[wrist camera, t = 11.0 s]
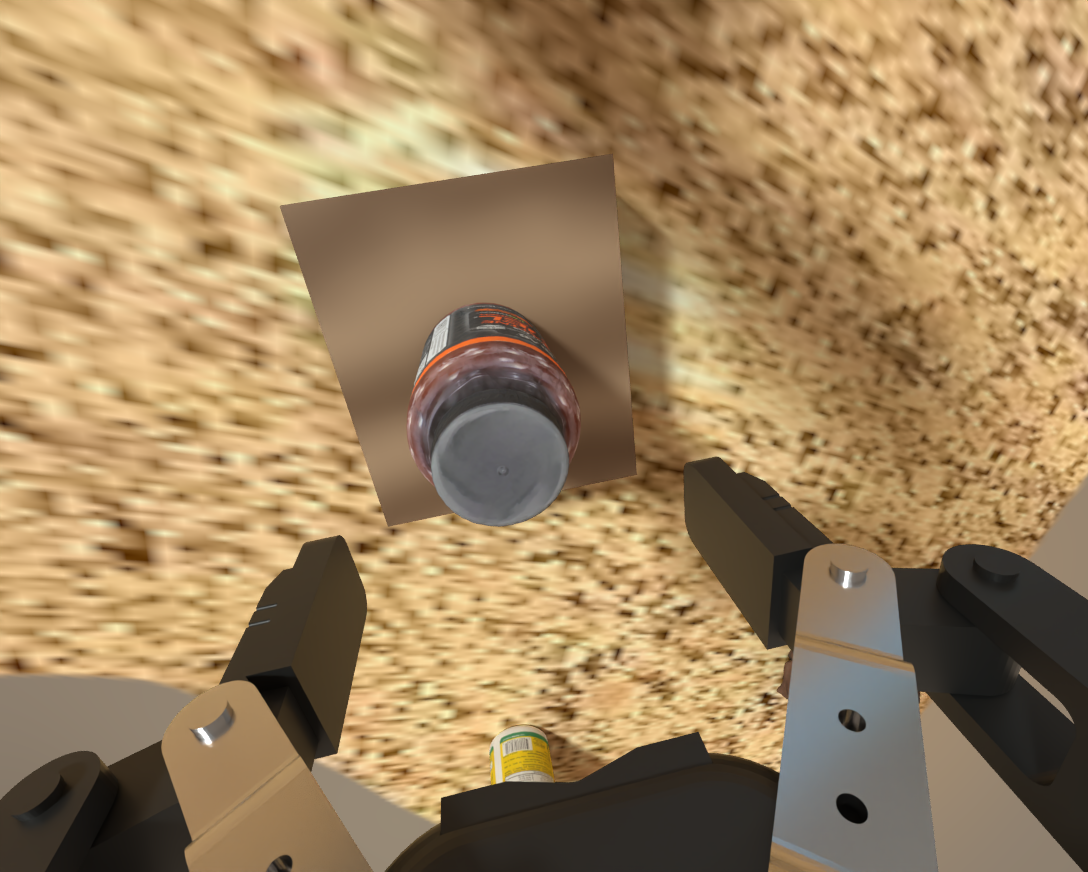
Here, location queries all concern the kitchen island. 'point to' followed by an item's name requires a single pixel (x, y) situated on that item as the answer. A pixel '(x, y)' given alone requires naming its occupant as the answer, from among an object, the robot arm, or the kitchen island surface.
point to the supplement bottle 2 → (520, 756)
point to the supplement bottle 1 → (492, 416)
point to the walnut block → (470, 301)
